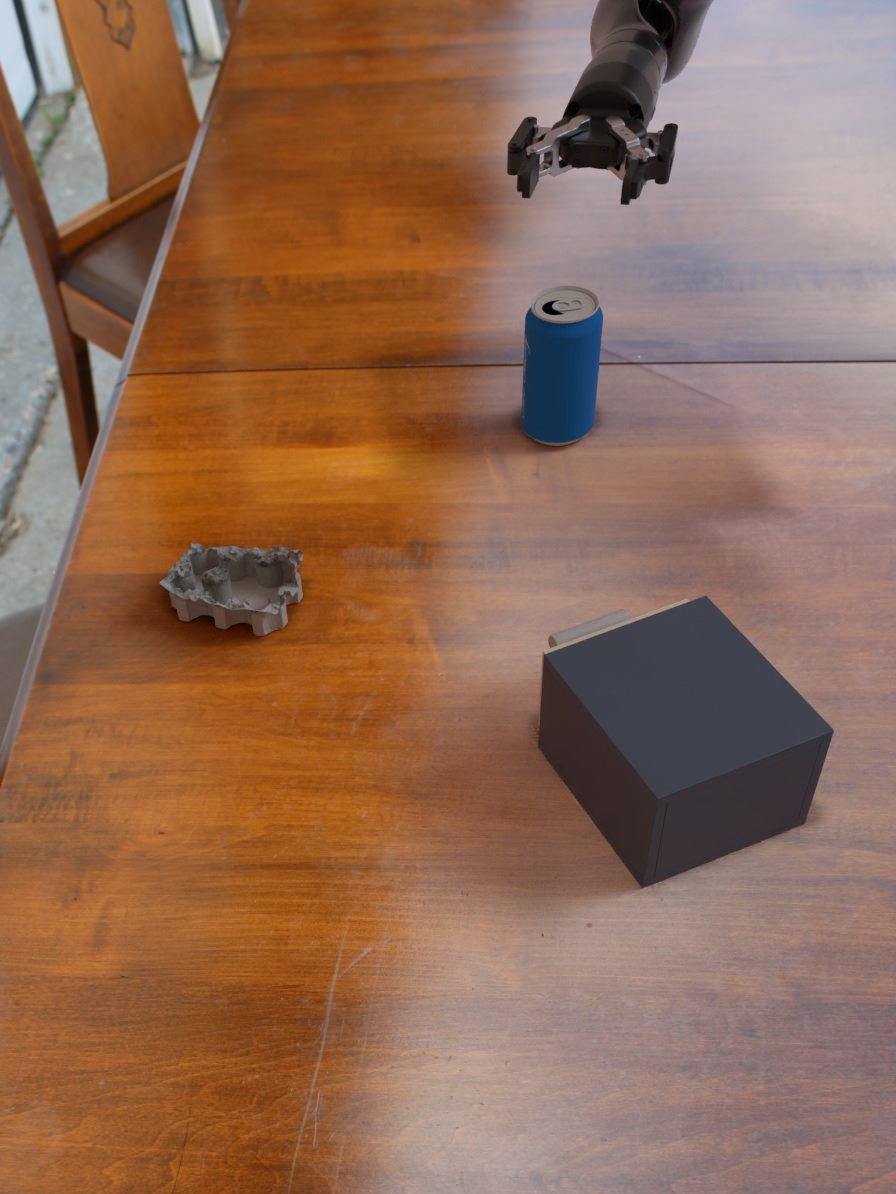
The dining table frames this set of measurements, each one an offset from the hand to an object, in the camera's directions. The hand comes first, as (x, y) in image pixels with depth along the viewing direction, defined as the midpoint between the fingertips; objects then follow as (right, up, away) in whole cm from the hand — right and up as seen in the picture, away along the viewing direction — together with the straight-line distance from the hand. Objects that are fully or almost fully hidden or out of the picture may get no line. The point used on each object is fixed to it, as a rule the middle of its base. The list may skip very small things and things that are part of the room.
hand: (575, 190), depth 113 cm
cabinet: (+2, -52, -19) cm, 56 cm away
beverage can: (0, -18, +7) cm, 19 cm away
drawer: (+1, -49, -18) cm, 52 cm away
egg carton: (-29, -36, -3) cm, 46 cm away
